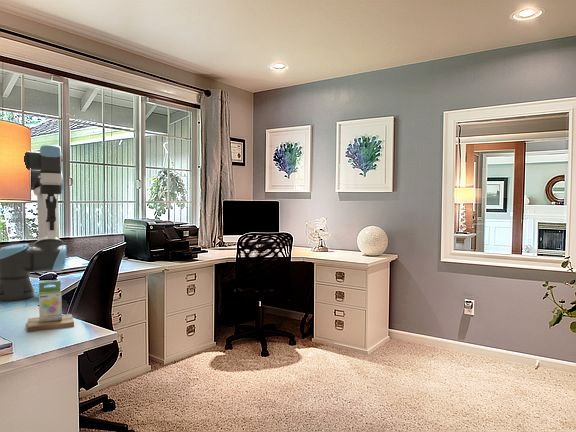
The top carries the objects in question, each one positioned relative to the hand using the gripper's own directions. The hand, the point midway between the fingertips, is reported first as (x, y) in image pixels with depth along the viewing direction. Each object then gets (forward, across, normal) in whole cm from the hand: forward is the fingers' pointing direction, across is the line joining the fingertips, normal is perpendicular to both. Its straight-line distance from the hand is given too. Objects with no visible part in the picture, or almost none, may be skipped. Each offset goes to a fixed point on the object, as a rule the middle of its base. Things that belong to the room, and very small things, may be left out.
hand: (51, 237), depth 174 cm
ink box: (+27, +25, -1) cm, 37 cm away
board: (+29, +25, -1) cm, 38 cm away
